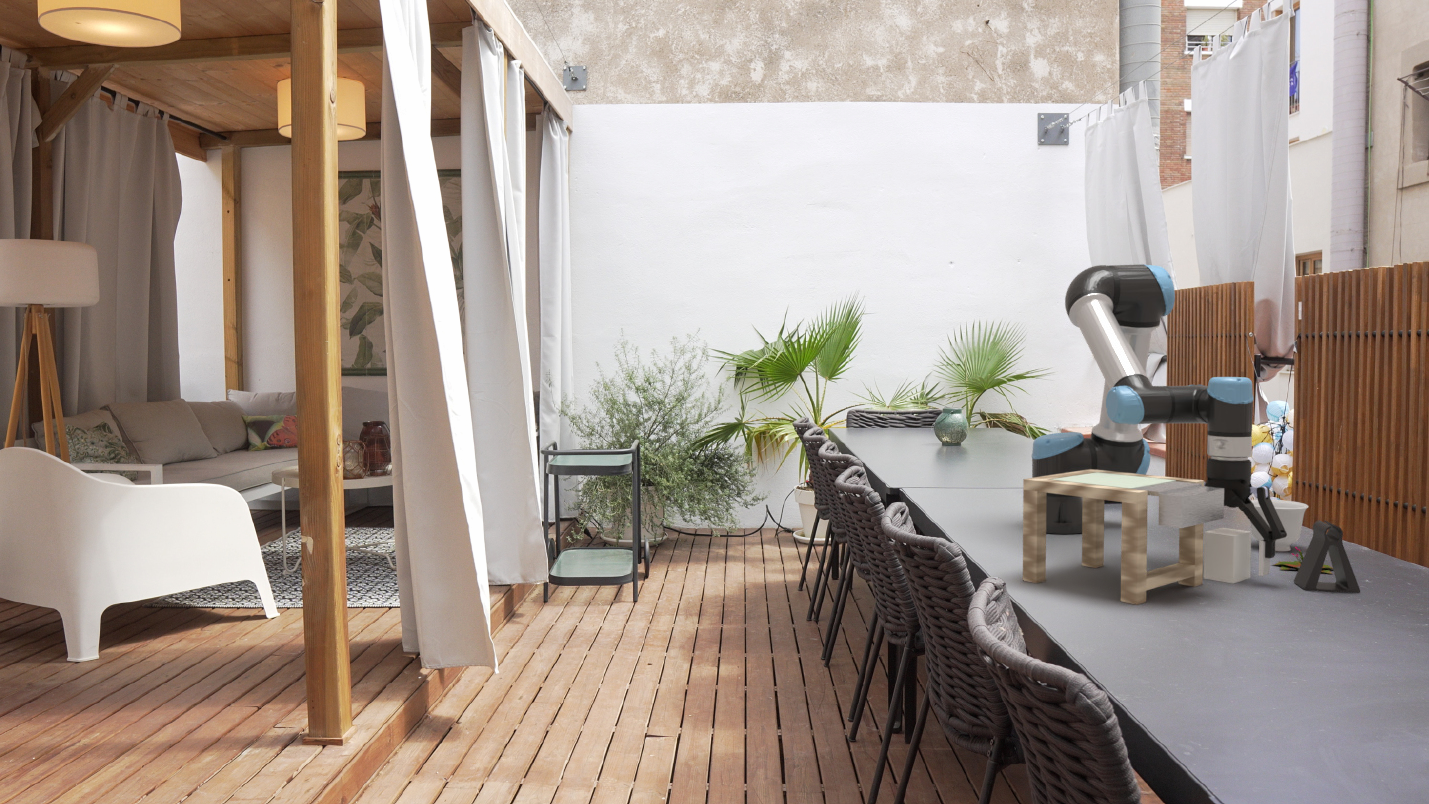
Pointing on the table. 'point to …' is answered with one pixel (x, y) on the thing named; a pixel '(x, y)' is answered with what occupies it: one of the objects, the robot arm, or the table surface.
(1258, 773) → the table surface
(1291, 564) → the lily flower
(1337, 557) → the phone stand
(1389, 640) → the table surface
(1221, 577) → the white rectangular block
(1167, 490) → the trapdoor
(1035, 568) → the trapdoor frame
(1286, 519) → the teacup
